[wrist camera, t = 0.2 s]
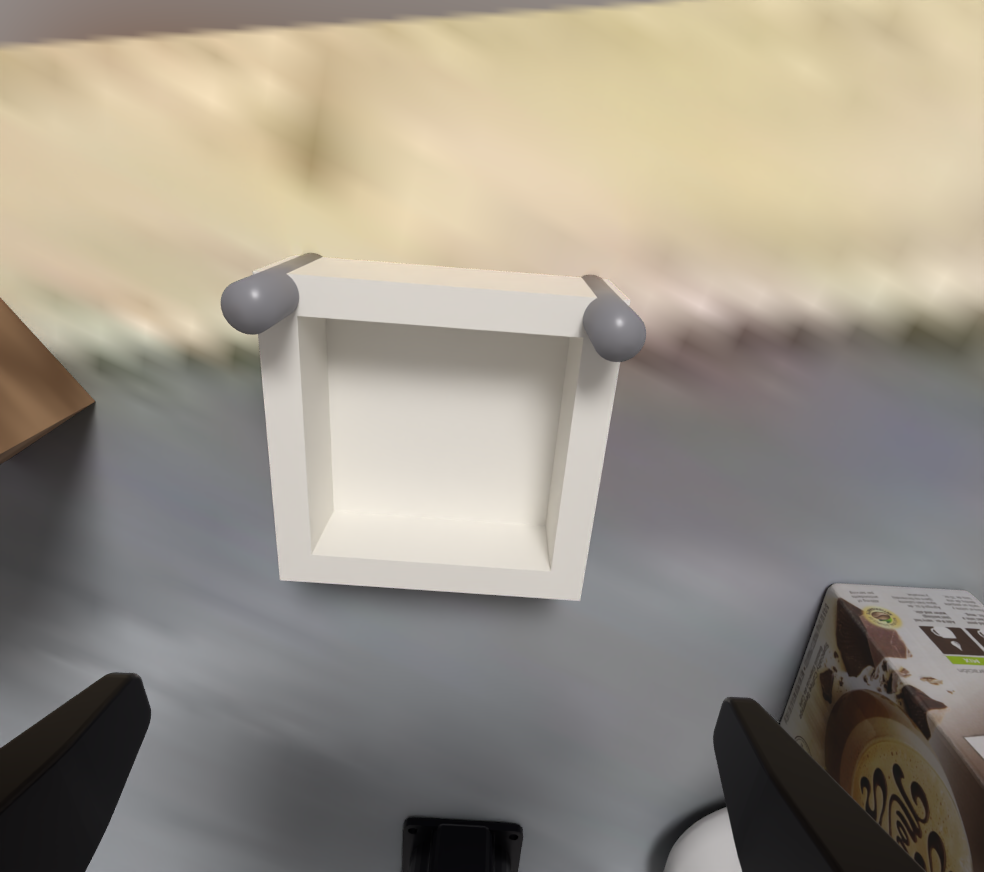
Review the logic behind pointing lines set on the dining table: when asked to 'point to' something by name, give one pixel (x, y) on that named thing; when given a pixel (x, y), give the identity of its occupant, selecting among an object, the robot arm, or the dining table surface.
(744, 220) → the dining table surface
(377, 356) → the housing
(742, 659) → the dining table surface
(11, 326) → the brown block
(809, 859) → the robot arm
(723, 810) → the flower in vase
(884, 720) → the coffee box
